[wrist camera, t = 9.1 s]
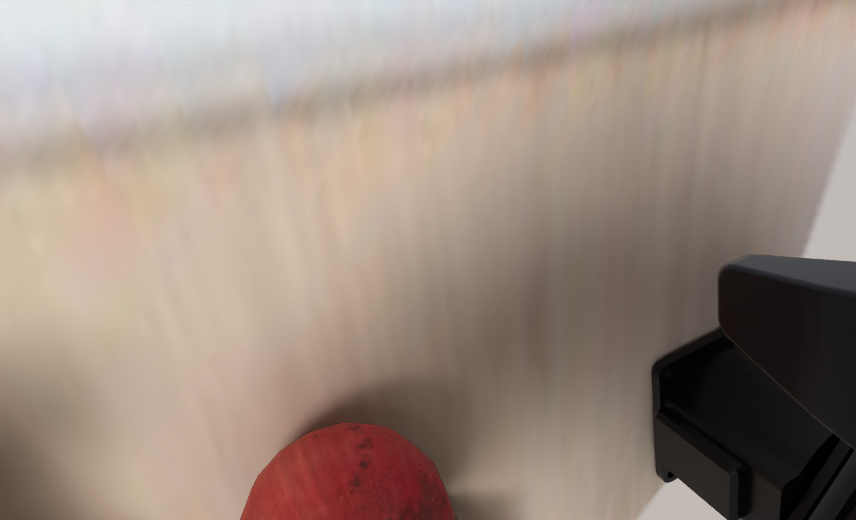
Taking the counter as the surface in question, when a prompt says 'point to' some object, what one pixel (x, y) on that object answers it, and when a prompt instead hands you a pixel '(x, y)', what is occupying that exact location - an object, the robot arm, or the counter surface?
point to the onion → (349, 479)
